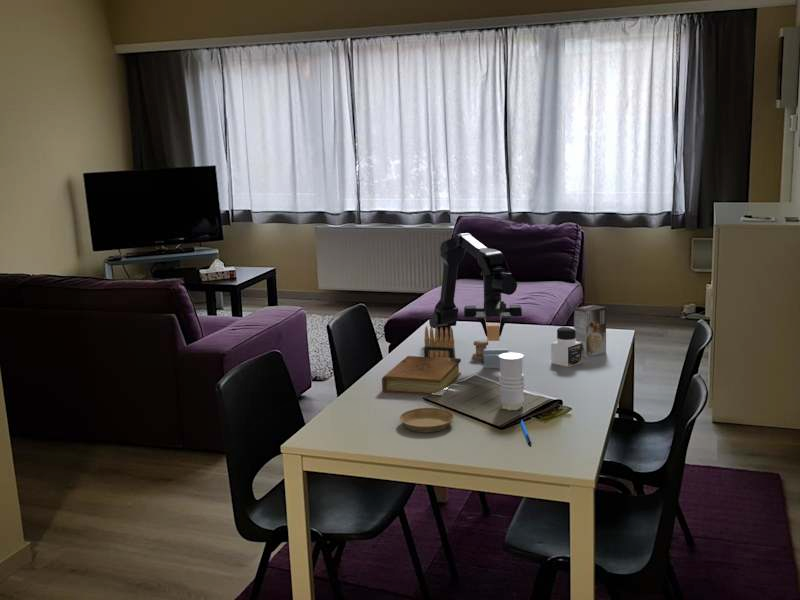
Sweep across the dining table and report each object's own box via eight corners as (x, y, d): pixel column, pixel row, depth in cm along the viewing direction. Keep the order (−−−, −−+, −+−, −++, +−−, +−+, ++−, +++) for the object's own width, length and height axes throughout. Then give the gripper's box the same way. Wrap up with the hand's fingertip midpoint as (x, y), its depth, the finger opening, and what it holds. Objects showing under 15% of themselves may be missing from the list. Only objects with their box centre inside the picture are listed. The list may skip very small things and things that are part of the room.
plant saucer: (466, 424, 229) (465, 415, 228) (428, 440, 219) (427, 430, 218) (426, 413, 239) (426, 404, 239) (388, 427, 229) (388, 418, 229)
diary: (406, 372, 280) (405, 355, 279) (461, 375, 274) (460, 358, 273) (382, 393, 259) (381, 375, 258) (441, 397, 253) (441, 378, 252)
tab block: (487, 337, 284) (487, 323, 283) (499, 337, 284) (499, 323, 283) (487, 340, 280) (486, 326, 279) (499, 340, 280) (499, 325, 279)
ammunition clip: (455, 361, 289) (454, 326, 286) (454, 362, 287) (453, 328, 285) (425, 359, 292) (424, 325, 290) (424, 361, 291) (422, 326, 288)
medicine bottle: (568, 367, 276) (568, 331, 274) (551, 363, 281) (550, 328, 279) (581, 362, 281) (582, 327, 278) (564, 359, 286) (564, 324, 283)
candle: (521, 412, 236) (520, 359, 233) (497, 410, 238) (496, 358, 235) (526, 404, 242) (526, 353, 239) (502, 402, 244) (501, 352, 241)
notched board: (484, 360, 288) (483, 349, 287) (508, 360, 287) (507, 348, 287) (484, 367, 279) (483, 356, 279) (508, 367, 279) (508, 355, 278)
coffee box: (593, 349, 297) (593, 304, 293) (606, 352, 291) (607, 307, 288) (573, 353, 292) (573, 307, 289) (586, 357, 287) (586, 310, 283)
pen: (528, 447, 211) (528, 443, 211) (519, 421, 230) (519, 417, 230) (532, 447, 211) (532, 442, 211) (522, 421, 230) (522, 417, 230)
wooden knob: (472, 355, 295) (472, 340, 294) (490, 355, 294) (489, 339, 293) (472, 360, 289) (471, 344, 288) (490, 359, 288) (489, 344, 287)
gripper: (463, 295, 272) (464, 342, 275) (522, 294, 270) (522, 342, 273) (464, 288, 282) (465, 334, 286) (520, 287, 280) (521, 333, 284)
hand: (493, 336), depth 282 cm, fingers closed on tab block, 4 cm apart
